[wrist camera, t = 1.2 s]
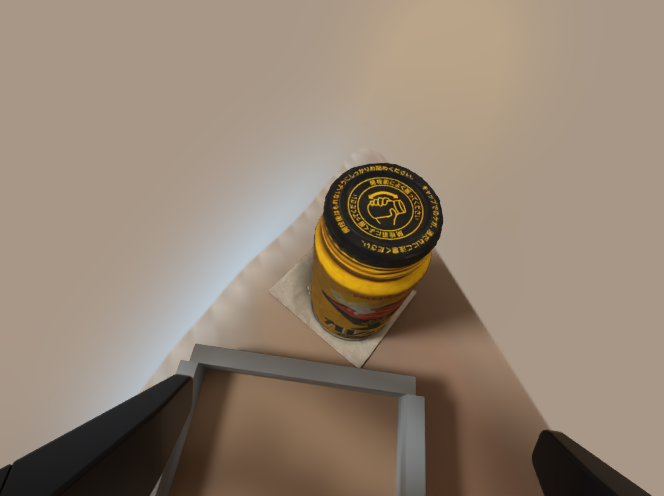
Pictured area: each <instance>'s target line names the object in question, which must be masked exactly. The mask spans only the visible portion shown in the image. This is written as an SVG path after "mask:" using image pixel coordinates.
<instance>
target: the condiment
mask: <svg viewBox="0 0 664 496" xmlns="http://www.w3.org/2000/svg"><path fill="white" fill-rule="evenodd" d="M324 203H325V204H324V212H323V214H322V216H321V218H320V220H319V222H318V224H317V227H316V229H315V235H314V247H313V248H312V249H311V250H310V251H309V252H308V253H307V254H306V255H305V256H304V257H303V258H302V259H301V260H300V261H299V262H298V263H297V265H295V266H294V267H293V268H291V269H290V271H288V272H287V273H286V274H285V275H284V277H283V278H282V279H281V280H279V281H278V282H277V283H276V284H275V285H274V286H273V287H272V288H271V289H270V290H269V291H268V292H270V293H271V294H272V295H273V296H274V297H276V298H277V299H278V300H279V301H280V302H281V303H282V304H284V305H285V306H286V307H287V308H288V309H290V310H291V311H292V312H293V313H294V314H295V315H296V316H298V317H299V318H300V319H301V320H302V321H303V322H304V323H306V324H307V325H308V326H309V327H310V328H311V329H312V330H313V331H315V332H316V333H317V334H318V335H319V336H320V337H322V338H323V339H324V340H325V341H326V342H327V343H328V344H330V345H331V346H332V347H333V348H334V349H335V350H337V351H338V352H339V353H340V354H341V355H343V356H344V357H345V358H346V359H347V360H348V361H349V362H351V363H352V364H353V365H354V366H355V367H357V368H361V366H362V365H363V364H364V362H365V361H366V360H367V358H368V357H369V356H370V354H371V353H372V352H373V350H374V349H375V347H376V346H377V345H378V343H379V342H380V341H381V339H382V338H383V337H384V335H385V334H386V333H387V331H388V330H389V329H390V327H391V326H392V325H393V323H394V322H395V321H396V319H397V318H398V317H399V315H400V314H401V313H402V311H403V310H404V309H405V307H406V306H407V305H408V303H409V302H410V301H411V299H412V298H413V297H414V295H415V294H416V293H417V292H416V291H414V290H413V289H414V287H415V286H416V285H417V283H418V282H419V281H420V280H421V279H422V278H423V276H424V274H425V273H426V270H427V268H428V266H429V263H430V260H431V250H432V249H433V248H434V247H435V246H436V244H437V241H438V240H439V238H440V234H441V230H442V225H443V215H442V208H441V205H440V200H439V198H438V196H437V195H436V194H435V192H434V191H433V189H432V188H431V187H430V186H429V185H428V183H427V182H426V181H424V180H423V178H421V177H420V176H418V175H417V174H415V173H414V172H412V171H410V170H409V169H407V168H404V167H401V166H398V165H396V164H389V163H376V164H367V165H362V166H358V167H354V168H351V169H350V170H348V171H346V172H345V173H343V174H342V175H341V176H340V177H339V178H337V179H336V180H335V181H334V183H333V184H332V185H331V187H330V189H329V191H328V193H327V195H326V197H325V202H324ZM307 286H309V290H308V289H307ZM309 291H310V293H311V294H310V295H309V294H308V292H309Z"/></svg>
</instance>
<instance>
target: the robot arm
mask: <svg viewBox="0 0 664 496" xmlns="http://www.w3.org/2000/svg"><path fill="white" fill-rule="evenodd" d="M192 402H193V378H192V377H191V376H189V375H182V374H175V375H173V376H171V377H169V378H167V379H166V380H164V381H162V382H160V383H158V384H156V385H154V386H153V387H151V388H149V389H147V390H145V391H143V392H142V393H140V394H138V395H136V396H134V397H132V398H131V399H129V400H127V401H125V402H123V403H122V404H119V405H118V406H116V407H114V408H112V409H110V410H108V411H107V412H105V413H103V414H101V415H99V416H97V417H95V418H94V419H92V420H90V421H88V422H86V423H84V424H83V425H81V426H79V427H77V428H75V429H74V430H72V431H70V432H68V433H66V434H64V435H62V436H61V437H59V438H57V439H55V440H53V441H51V442H49V443H48V444H46V445H44V446H42V447H40V448H39V449H36V450H35V451H33V452H31V453H29V454H27V455H25V456H24V457H22V458H20V459H18V460H16V461H15V462H14V463H13V465H10V464H9V465H7V466H5V467H3V468H1V469H0V496H150V495H151V493H152V491H153V490H154V488H155V486H156V484H157V482H158V481H159V479H160V477H161V475H162V473H163V471H164V469H165V467H166V465H167V462H168V460H169V458H170V456H171V454H172V451H173V449H174V447H175V445H176V442H177V440H178V438H179V436H180V434H181V431H182V429H183V427H184V425H185V423H186V420H187V418H188V416H189V414H190V411H191V408H192ZM532 463H533V467H534V469H535V472H536V475H537V477H538V480H539V483H540V485H541V488H542V491H543V493H544V496H651V495H650V494H649V493H647V492H646V491H644V490H643V489H641V488H640V487H639V486H637V485H636V484H634V483H633V482H631V481H630V480H629V479H627V478H626V477H624V476H623V475H621V474H620V473H619V472H617V471H616V470H614V469H613V468H612V467H610V466H609V465H607V464H606V463H604V462H603V461H601V460H600V459H599V458H597V457H596V456H595V455H593V454H592V453H590V452H589V451H587V450H586V449H585V448H583V447H582V446H580V445H579V444H577V443H576V442H575V441H573V440H572V439H570V438H569V437H567V436H566V435H565V434H563V433H561V432H558V431H552V430H543V431H542V432H541V433H540V435H539V438H538V441H537V443H536V446H535V448H534V451H533V454H532Z"/></svg>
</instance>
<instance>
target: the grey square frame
mask: <svg viewBox="0 0 664 496" xmlns="http://www.w3.org/2000/svg"><path fill="white" fill-rule="evenodd" d="M176 374H182V375H189V376H191V377H192V378H193V402H192V408H191V411H190V414H189V416H188V418H187V420H186V423H185V425H184V427H183V429H182V431H181V434H180V436H179V438H178V440H177V442H176V445H175V447H174V449H173V451H172V454H171V456H170V458H169V460H168V462H167V465H166V467H165V469H164V471H163V473H162V475H161V477H160V479H159V481H158V482H157V484H156V486H155V488H154V490H153V491H152V493H151V495H150V496H426V481H425V397H423V396H416V377H413V376H407V375H400V374H393V373H387V372H380V371H373V370H367V369H360V368H354V367H347V366H340V365H334V364H327V363H320V362H314V361H307V360H300V359H294V358H287V357H280V356H274V355H267V354H261V353H254V352H247V351H241V350H234V349H227V348H221V347H214V346H207V345H201V344H195V346H194V349H193V352H192V355H191V358H190V361H184V360H181V361H180V363H179V366H178V369H177V372H176Z"/></svg>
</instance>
